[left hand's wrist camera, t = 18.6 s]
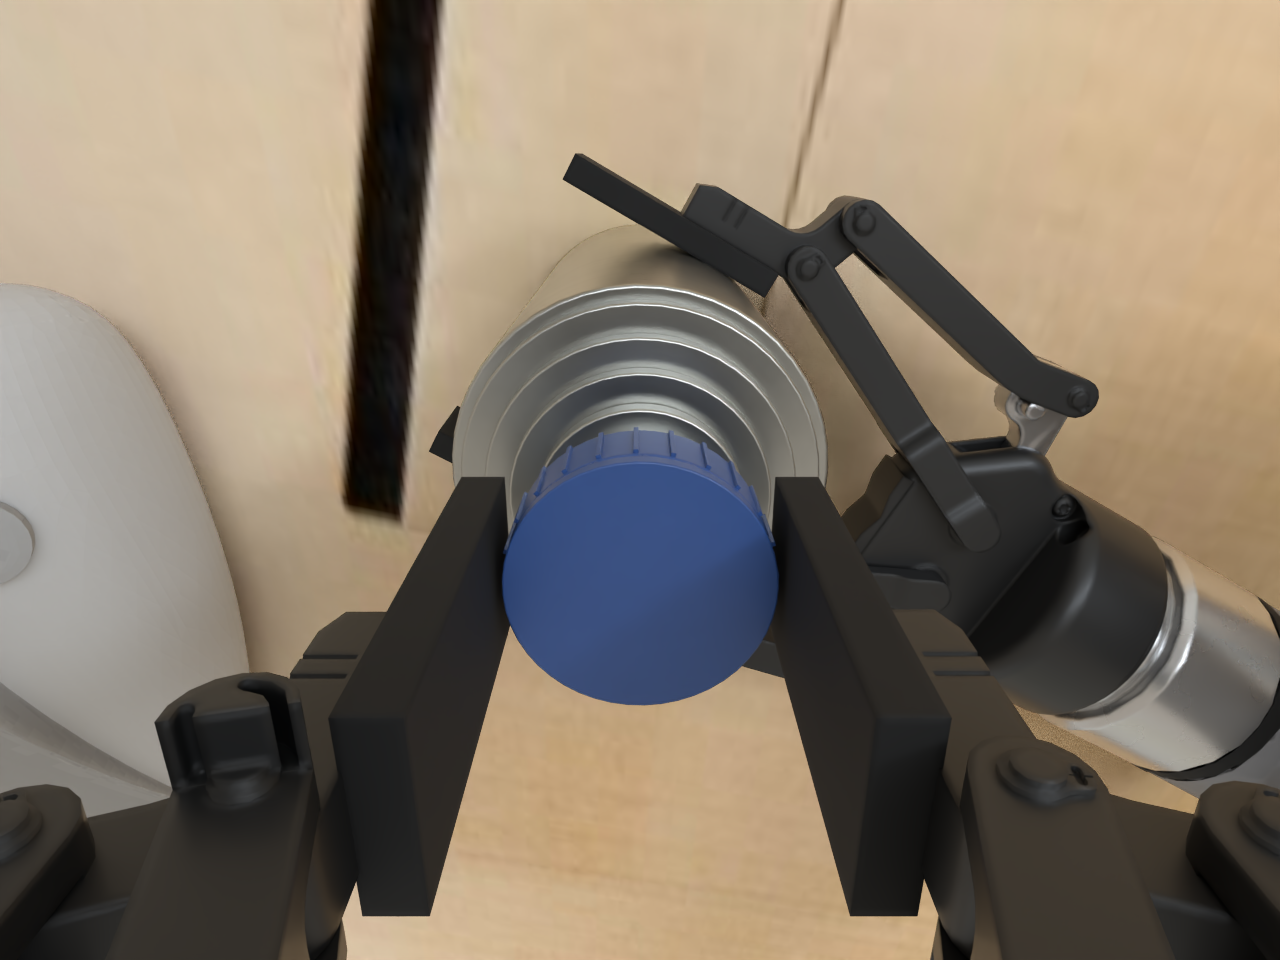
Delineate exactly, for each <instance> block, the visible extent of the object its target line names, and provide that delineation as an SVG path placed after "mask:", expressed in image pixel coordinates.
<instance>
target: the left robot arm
mask: <svg viewBox="0 0 1280 960" xmlns="http://www.w3.org/2000/svg"><path fill="white" fill-rule="evenodd" d="M772 535H773V538H774V541H775V544H776V546H773V550H774V553H775V556H776V561H777V567H778V572H779V590H778V599H777V605H776V609H775V613H774V616H773V619H772V622H771V624H770V627H771V631H772V635H773V638H774V642H775V645H776V649H777V653H778V656H779V660H780V664H781V667H782V671H783V674H784V678H785V682H786V685H787V689H788V693H789V696H790V700H791V703H792V707H793V711H794V714H795V718H796V722H797V725H798V729H799V732H800V736H801V740H802V743H803V747H804V751H805V754H806V758H807V761H808V765H809V769H810V772H811V776H812V779H813V783H814V787H815V790H816V794H817V798H818V801H819V805H820V808H821V812H822V816H823V819H824V823H825V827H826V830H827V834H828V837H829V841H830V845H831V848H832V852H833V856H834V859H835V863H836V866H837V870H838V874H839V877H840V881H841V885H842V888H843V892H844V895H845V899H846V903H847V906H848V910H849V914H850V916H918V910H919V904H920V899H921V893H922V887H923V881H924V879H925V882H926V884H927V887H928V890H929V892H930V895H931V897H932V900H933V902H934V905H935V907H936V910H937V912H938V915H939V916H938V921H937V926H936V932H935V937H934V942H933V948H932V953H931V958H930V960H1280V789H1278V788H1274V787H1270V786H1267V785H1264V784H1258V783H1250V782H1242V781H1229V782H1223V783H1217V784H1212V785H1211V786H1210V787H1209V788H1208V789H1207V790H1205V791H1204V792H1203V793H1202V794H1201V795H1200V798H1199V801H1198V804H1197V807H1196V810H1195V813H1194V814H1190V813H1186V812H1181V811H1177V810H1172V809H1168V808H1163V807H1159V806H1154V805H1150V804H1145V803H1141V802H1136V801H1132V800H1128V799H1125V798H1122V797H1118V796H1115V795H1111V794H1109V791H1108V789H1107V787H1106V786H1105V784H1104V783H1103V781H1102V780H1101V778H1100V777H1099V776H1098V774H1097V773H1096V771H1095V770H1094V769H1092V768H1091V767H1090V766H1089V765H1087V764H1086V763H1085V762H1084V761H1082V760H1081V759H1080V758H1079V757H1077V756H1076V755H1075V754H1073V753H1070V752H1068V751H1066V750H1064V749H1062V748H1060V747H1058V746H1056V745H1054V744H1052V743H1050V742H1046V741H1042V740H1038V739H1036V738H1035V736H1034V735H1033V733H1032V732H1031V730H1030V729H1029V727H1028V726H1027V724H1026V723H1025V721H1024V720H1023V718H1022V717H1021V715H1020V714H1019V713H1018V711H1017V710H1016V708H1015V707H1014V705H1013V704H1012V702H1011V701H1010V699H1009V698H1008V696H1007V695H1006V693H1005V692H1004V690H1003V689H1002V687H1001V686H1000V685H999V683H998V682H997V680H996V679H995V677H994V676H991V675H990V670H989V668H988V667H987V665H986V664H985V662H984V661H983V659H982V658H981V657H978V655H977V651H976V649H975V648H974V646H973V645H972V643H971V642H970V640H969V639H968V637H967V636H966V634H965V633H964V631H963V630H962V629H961V628H960V627H958V626H957V625H955V624H954V623H953V622H951V621H950V620H948V619H947V618H945V617H944V616H943V615H941V614H940V613H938V612H937V611H936V610H934V609H891V607H890V605H889V603H888V601H887V600H886V598H885V596H884V594H883V592H882V591H881V589H880V587H879V585H878V583H877V582H876V580H875V578H874V576H873V574H872V573H871V571H870V569H869V567H868V565H867V564H866V562H865V560H864V558H863V556H862V555H861V553H860V551H859V549H858V547H857V546H856V544H855V542H854V540H853V538H852V536H851V535H850V533H849V531H848V529H847V527H846V526H845V524H844V522H843V520H842V518H841V517H840V515H839V513H838V511H837V509H836V508H835V506H834V504H833V502H832V500H831V499H830V497H829V495H828V493H827V491H826V490H825V488H824V486H823V484H822V482H821V481H820V479H819V477H775V488H774V503H773V518H772ZM508 536H509V533H508V518H507V503H506V488H505V477H461V479H460V480H459V482H458V484H457V486H456V488H455V490H454V491H453V493H452V495H451V497H450V499H449V500H448V502H447V504H446V506H445V508H444V509H443V511H442V513H441V515H440V517H439V518H438V520H437V522H436V524H435V526H434V527H433V529H432V531H431V533H430V535H429V536H428V538H427V540H426V542H425V544H424V545H423V547H422V549H421V551H420V553H419V555H418V556H417V558H416V560H415V562H414V564H413V565H412V567H411V569H410V571H409V573H408V574H407V576H406V578H405V580H404V582H403V583H402V585H401V587H400V589H399V591H398V592H397V594H396V596H395V598H394V600H393V601H392V603H391V605H390V607H389V609H388V610H387V612H346V613H344V614H343V615H341V616H340V617H339V618H337V619H336V620H334V621H333V622H331V623H330V624H329V625H327V626H326V627H324V628H323V629H322V630H320V631H319V632H318V633H317V635H316V636H315V638H314V639H313V641H312V642H311V644H310V645H309V647H308V648H307V650H306V651H305V653H304V654H303V659H300V660H299V661H298V663H297V664H296V666H295V667H294V669H293V670H292V672H291V673H290V679H288V678H287V677H284V676H280V675H276V674H272V673H268V672H263V673H240V674H236V675H232V676H227V677H223V678H218V679H215V680H212V681H210V682H208V683H205V684H203V685H201V686H198V687H196V688H194V689H191V690H189V691H187V692H186V693H185V694H183V695H182V696H180V697H179V698H177V699H176V700H175V701H173V702H172V703H170V704H169V705H167V707H166V708H165V709H164V710H163V712H162V713H161V714H160V716H159V717H158V718H157V719H156V721H155V722H154V724H155V727H156V731H157V735H158V738H159V742H160V746H161V749H162V753H163V757H164V760H165V764H166V768H167V771H168V775H169V779H170V782H171V786H172V793H171V795H170V798H167V799H163V800H160V801H157V802H153V803H150V804H146V805H141V806H137V807H132V808H128V809H123V810H119V811H114V812H110V813H106V814H101V815H97V816H92V817H88V818H87V816H86V813H85V810H84V807H83V804H82V801H81V798H80V797H79V796H78V795H76V794H75V793H74V792H73V791H72V790H71V789H69V788H68V787H62V786H55V785H49V784H43V785H35V786H27V787H19V788H15V789H12V790H9V791H6V792H3V793H0V960H346V957H347V945H346V939H345V932H344V926H343V921H342V917H343V914H344V911H345V909H346V906H347V904H348V901H349V899H350V896H351V894H352V891H353V888H354V886H355V883H356V882H357V887H358V893H359V899H360V905H361V910H362V916H430V913H431V910H432V906H433V903H434V899H435V895H436V892H437V888H438V884H439V881H440V877H441V874H442V870H443V866H444V863H445V859H446V856H447V852H448V848H449V845H450V841H451V837H452V834H453V830H454V827H455V823H456V819H457V816H458V812H459V808H460V805H461V801H462V798H463V794H464V790H465V787H466V783H467V779H468V776H469V772H470V769H471V765H472V761H473V758H474V754H475V750H476V747H477V743H478V740H479V736H480V732H481V729H482V725H483V721H484V718H485V714H486V711H487V707H488V703H489V700H490V696H491V692H492V689H493V685H494V682H495V678H496V674H497V671H498V667H499V664H500V660H501V656H502V653H503V649H504V645H505V642H506V638H507V635H508V631H509V627H510V623H509V620H508V617H507V614H506V611H505V607H504V601H503V596H502V572H503V563H504V559H505V556H506V554H503V551H504V548H505V545H506V542H507V539H508Z"/></svg>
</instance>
